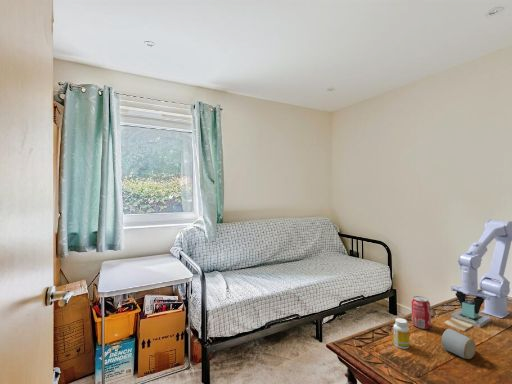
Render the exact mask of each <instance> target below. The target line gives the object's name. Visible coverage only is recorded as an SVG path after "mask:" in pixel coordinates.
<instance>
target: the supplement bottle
mask: <svg viewBox="0 0 512 384" xmlns="http://www.w3.org/2000/svg"><path fill="white" fill-rule="evenodd" d="M394 321H395V323H394V324H393V326H392V327H393V328H392V330H393V344H394V346H395V347H397V348H400V349H404V350H406V349H409V348H410V328H409V326H408V320H407V319H405V318H401V317H400V318H399V317H397V318H395V320H394Z"/></svg>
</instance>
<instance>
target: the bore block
mask: <svg viewBox="0 0 512 384" xmlns="http://www.w3.org/2000/svg"><path fill="white" fill-rule="evenodd" d="M451 318H454V319H457V320H460V321H463V322H466V323H469V324H471V325H473V327H474V326H475V327H477V328H481V327H483V326H484V325H486V324H488V323H489V322H491V321H492V318H491V316H488V315H487V316H486V315H485V314H481V313H479V316H478V317H476V318H475V319H476V320H474V319H473V318H470V317H467V316H464V315H462V308H461V309H458V310H456V311H455V312H452V313H451V314H450V319H451Z"/></svg>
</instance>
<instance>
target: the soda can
mask: <svg viewBox="0 0 512 384" xmlns="http://www.w3.org/2000/svg"><path fill="white" fill-rule="evenodd" d="M431 310H432V309H431V304H430V301H429V299H428V298H427V297H426V296H422V295H421V296H420V295H414V296H413V297H412V299H411V322H412V323H411V324H412V325H414V326H415V327H416V328H418V329H421V330H426V329H429V328H430V327H431V325H432V324H431V323H432V315H431V312H432V311H431Z"/></svg>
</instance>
